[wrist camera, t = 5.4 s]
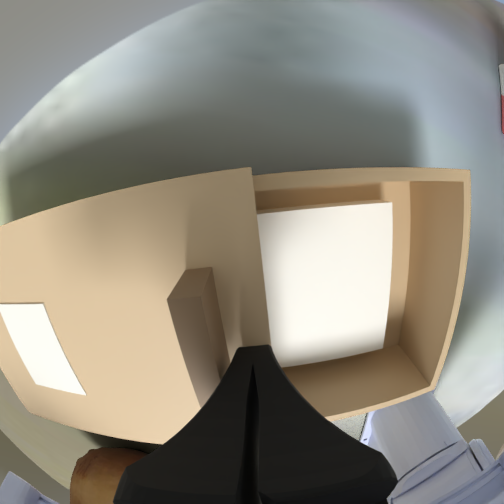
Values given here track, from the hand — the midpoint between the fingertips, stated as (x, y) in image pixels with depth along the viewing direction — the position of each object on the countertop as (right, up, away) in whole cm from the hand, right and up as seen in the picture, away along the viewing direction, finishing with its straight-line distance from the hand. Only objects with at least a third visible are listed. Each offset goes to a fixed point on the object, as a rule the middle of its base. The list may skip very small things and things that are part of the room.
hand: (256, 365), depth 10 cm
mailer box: (+1, +2, +7) cm, 8 cm away
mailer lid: (-10, -1, +2) cm, 10 cm away
